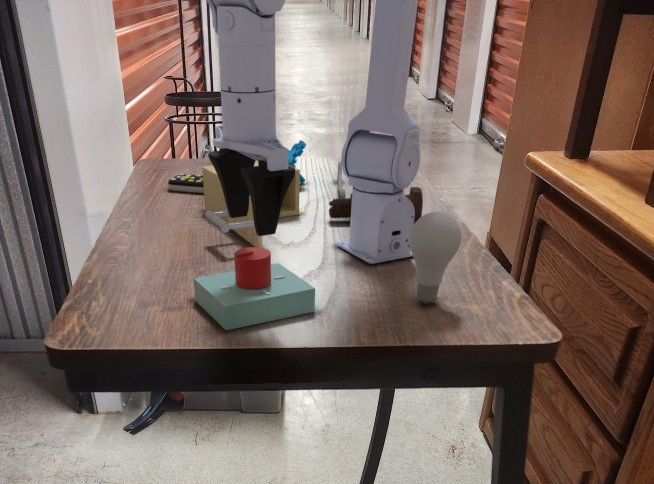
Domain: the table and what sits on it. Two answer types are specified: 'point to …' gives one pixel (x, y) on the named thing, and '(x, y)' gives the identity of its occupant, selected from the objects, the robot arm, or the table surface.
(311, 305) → the panel
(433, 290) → the lightbulb
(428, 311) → the table surface
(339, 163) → the combination wrench
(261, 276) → the cylinder
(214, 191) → the cabinet
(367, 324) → the table surface
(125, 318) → the table surface
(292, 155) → the blue jagged angular piece
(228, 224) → the cabinet door
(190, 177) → the remote control
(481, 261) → the table surface
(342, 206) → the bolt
